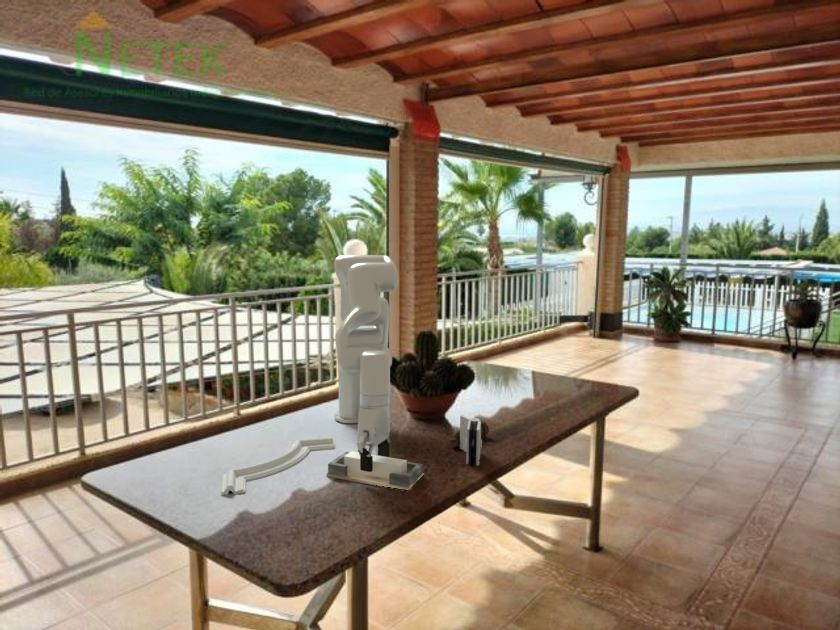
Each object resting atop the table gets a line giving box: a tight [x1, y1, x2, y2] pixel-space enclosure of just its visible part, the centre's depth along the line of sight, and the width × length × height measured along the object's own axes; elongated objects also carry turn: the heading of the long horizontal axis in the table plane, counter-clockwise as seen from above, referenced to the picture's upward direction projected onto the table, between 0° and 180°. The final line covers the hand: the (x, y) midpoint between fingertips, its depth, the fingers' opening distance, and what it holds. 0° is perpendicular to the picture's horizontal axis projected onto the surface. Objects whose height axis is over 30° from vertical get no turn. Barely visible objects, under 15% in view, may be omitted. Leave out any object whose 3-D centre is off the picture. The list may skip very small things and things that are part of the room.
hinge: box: [459, 414, 483, 467], centre depth 166 cm, size 14×5×10 cm, turn 4°
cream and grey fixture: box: [326, 451, 425, 491], centre depth 153 cm, size 10×23×3 cm, turn 68°
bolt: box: [449, 420, 490, 448], centre depth 179 cm, size 6×5×15 cm
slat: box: [344, 450, 408, 479], centre depth 153 cm, size 4×16×4 cm, turn 67°
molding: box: [220, 436, 335, 496], centre depth 161 cm, size 42×12×3 cm, turn 151°
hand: (375, 464), depth 153 cm, fingers open, 9 cm apart
